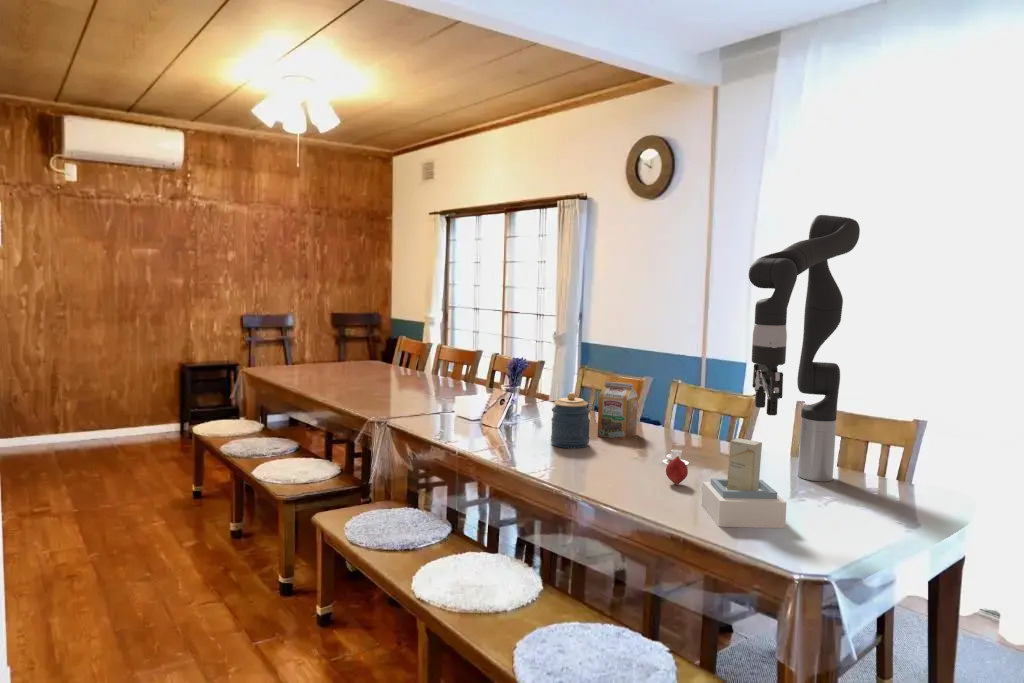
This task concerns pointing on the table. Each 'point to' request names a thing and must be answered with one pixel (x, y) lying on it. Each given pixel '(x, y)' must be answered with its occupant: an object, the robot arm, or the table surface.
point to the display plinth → (743, 505)
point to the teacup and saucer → (674, 456)
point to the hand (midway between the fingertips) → (765, 411)
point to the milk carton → (617, 411)
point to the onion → (676, 470)
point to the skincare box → (744, 465)
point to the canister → (570, 423)
